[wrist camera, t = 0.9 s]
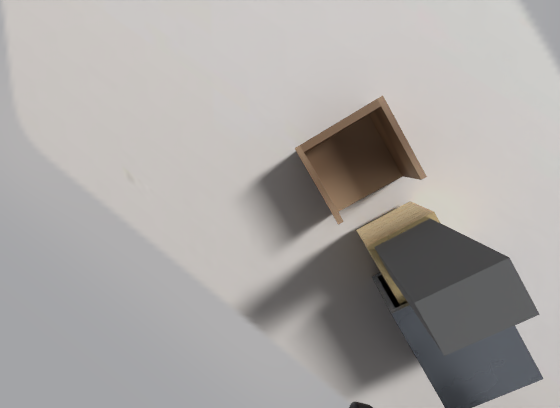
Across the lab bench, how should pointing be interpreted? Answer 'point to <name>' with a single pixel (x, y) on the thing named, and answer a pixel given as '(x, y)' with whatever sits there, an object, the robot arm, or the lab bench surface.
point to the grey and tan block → (446, 277)
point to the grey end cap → (465, 359)
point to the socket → (359, 156)
